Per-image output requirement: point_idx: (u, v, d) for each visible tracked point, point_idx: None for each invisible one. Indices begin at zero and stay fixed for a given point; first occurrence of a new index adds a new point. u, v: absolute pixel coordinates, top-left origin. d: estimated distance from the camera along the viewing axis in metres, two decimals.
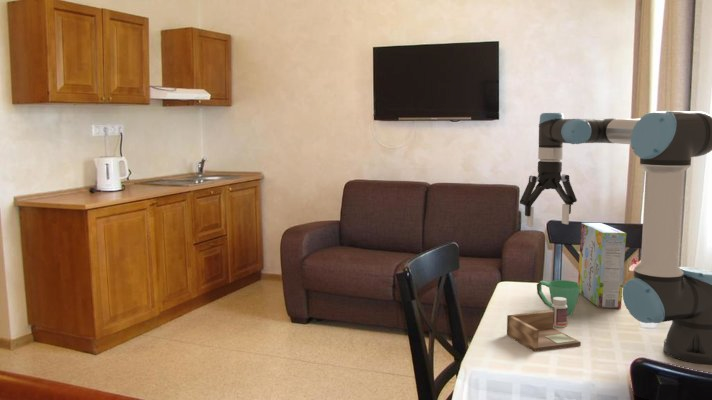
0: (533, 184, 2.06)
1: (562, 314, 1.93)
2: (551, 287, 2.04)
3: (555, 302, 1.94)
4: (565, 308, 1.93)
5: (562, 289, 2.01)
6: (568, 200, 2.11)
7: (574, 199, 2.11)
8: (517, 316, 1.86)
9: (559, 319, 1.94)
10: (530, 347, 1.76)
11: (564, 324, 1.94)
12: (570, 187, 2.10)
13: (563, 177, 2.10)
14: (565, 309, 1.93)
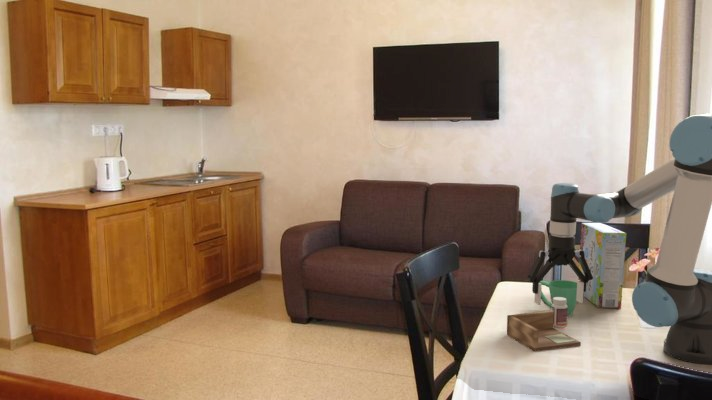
0: (541, 260, 1.91)
1: (562, 314, 1.93)
2: (551, 287, 2.04)
3: (555, 302, 1.94)
4: (565, 308, 1.93)
5: (562, 289, 2.01)
6: (583, 277, 1.94)
7: (590, 276, 1.95)
8: (517, 316, 1.86)
9: (559, 319, 1.94)
10: (530, 347, 1.76)
11: (564, 324, 1.94)
12: (585, 264, 1.94)
13: (577, 253, 1.94)
14: (565, 309, 1.93)
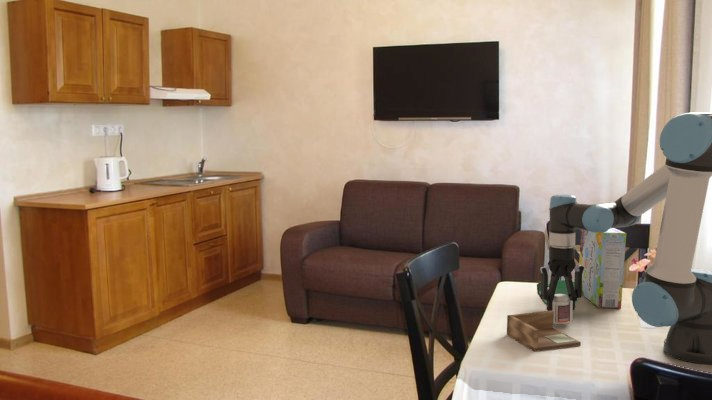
0: (545, 276, 1.92)
1: (564, 311, 1.93)
2: None
3: (556, 299, 1.94)
4: (566, 305, 1.93)
5: (562, 289, 2.01)
6: (572, 295, 1.94)
7: (579, 294, 1.94)
8: (517, 316, 1.86)
9: (561, 316, 1.93)
10: (530, 347, 1.76)
11: (566, 321, 1.93)
12: (580, 280, 1.94)
13: (577, 267, 1.94)
14: (566, 306, 1.93)
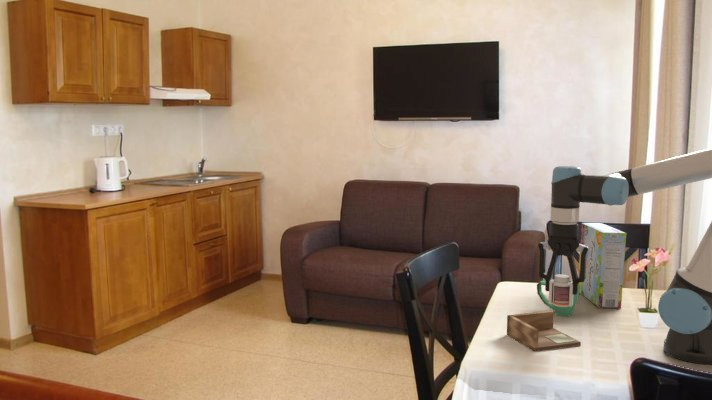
0: (541, 252, 1.79)
1: (560, 293, 1.77)
2: None
3: (554, 278, 1.79)
4: (563, 286, 1.77)
5: None
6: (573, 277, 1.76)
7: (581, 278, 1.75)
8: (517, 316, 1.86)
9: (556, 297, 1.78)
10: (530, 347, 1.76)
11: (562, 304, 1.77)
12: (583, 262, 1.75)
13: (581, 247, 1.75)
14: (563, 287, 1.77)
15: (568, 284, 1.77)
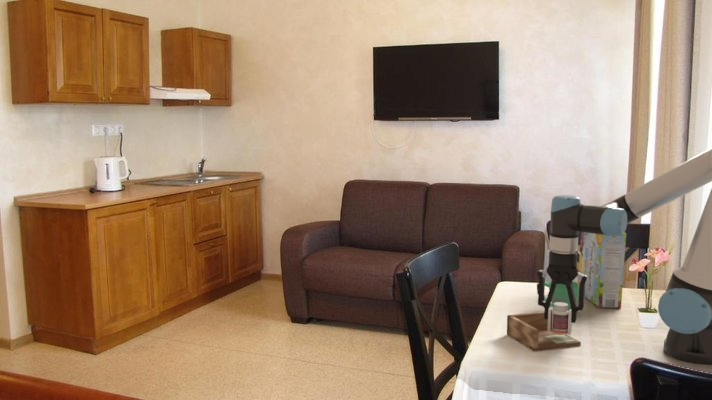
0: (540, 280, 1.80)
1: (558, 321, 1.78)
2: None
3: (553, 307, 1.80)
4: (562, 315, 1.78)
5: (562, 289, 2.01)
6: (572, 306, 1.77)
7: (580, 307, 1.76)
8: (517, 316, 1.86)
9: (555, 325, 1.79)
10: (530, 347, 1.76)
11: (561, 332, 1.79)
12: (581, 291, 1.76)
13: (580, 276, 1.76)
14: (562, 316, 1.78)
15: (567, 312, 1.78)
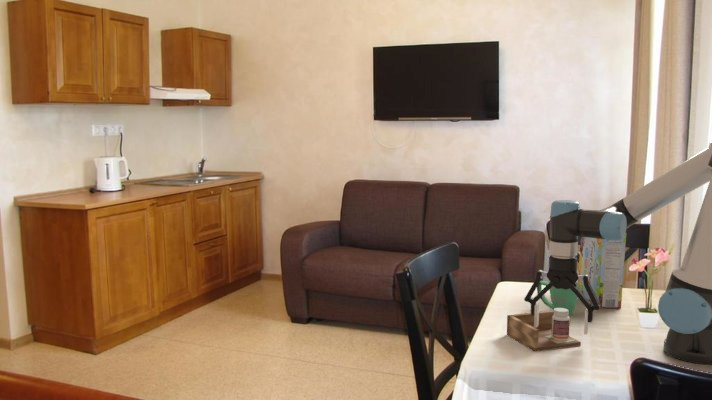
0: (537, 280, 1.81)
1: (559, 327, 1.78)
2: (551, 287, 2.04)
3: (554, 312, 1.80)
4: (562, 320, 1.78)
5: (562, 289, 2.01)
6: (586, 306, 1.75)
7: (595, 306, 1.74)
8: (517, 316, 1.86)
9: (555, 331, 1.79)
10: (530, 347, 1.76)
11: (561, 338, 1.79)
12: (589, 291, 1.75)
13: (581, 277, 1.76)
14: (562, 322, 1.78)
15: (567, 318, 1.79)
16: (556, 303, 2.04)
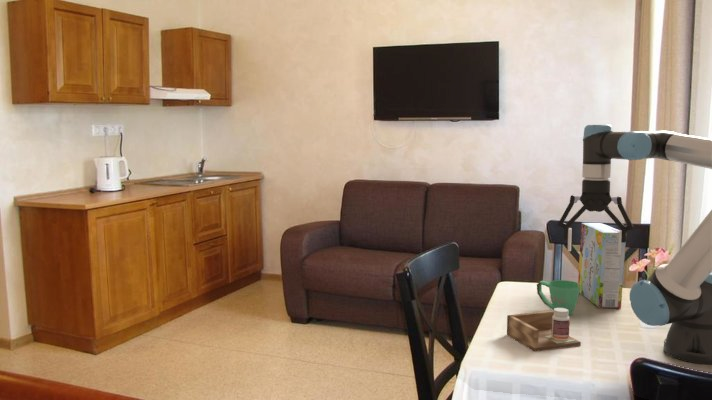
0: (570, 204, 1.85)
1: (559, 327, 1.78)
2: (551, 287, 2.04)
3: (554, 312, 1.80)
4: (562, 320, 1.78)
5: (562, 289, 2.01)
6: (620, 226, 1.80)
7: (629, 226, 1.79)
8: (517, 316, 1.86)
9: (555, 331, 1.79)
10: (530, 347, 1.76)
11: (561, 338, 1.79)
12: (623, 211, 1.79)
13: (614, 199, 1.81)
14: (562, 322, 1.78)
15: (567, 318, 1.79)
16: (556, 303, 2.04)
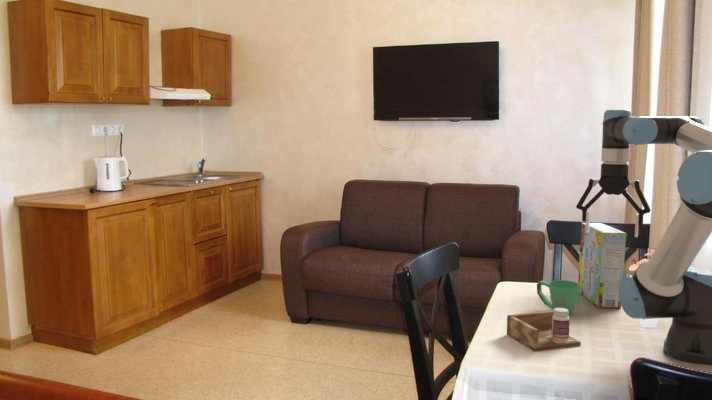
0: (589, 187, 1.90)
1: (559, 327, 1.78)
2: (551, 287, 2.04)
3: None
4: (562, 320, 1.78)
5: (562, 289, 2.01)
6: (637, 209, 1.84)
7: (646, 209, 1.83)
8: (517, 316, 1.86)
9: (555, 331, 1.79)
10: (530, 347, 1.76)
11: (561, 338, 1.79)
12: (640, 195, 1.84)
13: (632, 183, 1.85)
14: (562, 321, 1.78)
15: (567, 318, 1.79)
16: (556, 303, 2.04)
